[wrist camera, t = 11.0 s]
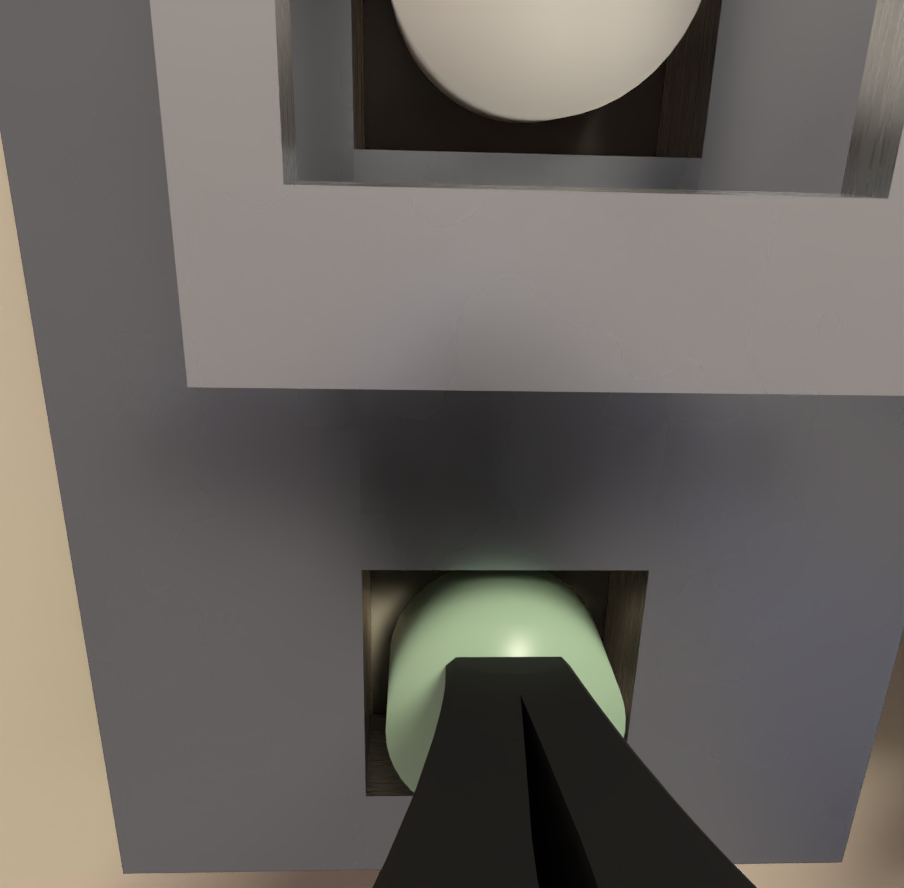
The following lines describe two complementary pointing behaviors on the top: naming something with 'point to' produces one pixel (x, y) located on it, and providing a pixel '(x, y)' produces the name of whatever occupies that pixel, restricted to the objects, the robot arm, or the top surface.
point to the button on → (485, 648)
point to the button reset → (539, 51)
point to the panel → (463, 406)
